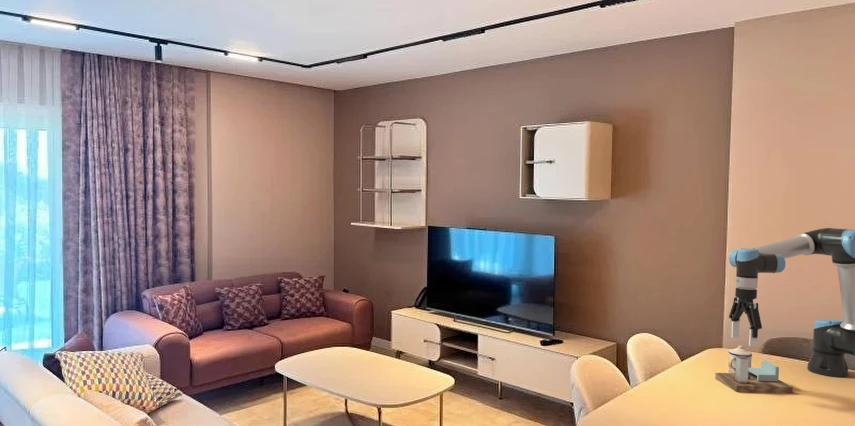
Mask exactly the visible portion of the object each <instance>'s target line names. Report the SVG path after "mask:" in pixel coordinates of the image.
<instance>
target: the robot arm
mask: <svg viewBox="0 0 855 426" xmlns="http://www.w3.org/2000/svg"><path fill="white" fill-rule="evenodd" d="M801 255H803V256H810V255H824V256H830V257H831V262H832V264H834V266H836V268H837V274H838V275H837V277H838V283H839V284H838V285H839V293H840V298H841V306H842V307H841V308H842V315H843V317H842V318H843V320H841V319H839V320H838V319H817V320H815V322H814V327H813V337H812V338H813V341H812V342H813V343H812V354H811V356H810V358H809V359H808V362H807V366H806V369H807V370H808V371H809V372H811V373H814V374H818V375H822V376H823V375H824V376H828V377H836V378H837V377H839V378H846V377H848V376H849V368H848V363H847V361H846V359H845V354H847V355H850V356H854V357H855V229H852V228H835V227H826V228H824V227H823V228H818V229H814V230H811V231H805V232H802V233H799V234H797V235H796V236H795V237H792V238H789V239H784V240H781V241H776V242H772V243H767V244H764V245H761V246H757V247H753V248H739V249H734V250H732V251H730V253H729V256H728V263H729V264H730V265H731V266H732V267H734V268H736V274H735V275H736V278H735V295H734V298H733V302H732V306H731V309H730V311H729V315H728V318H729V319H730V321H731V336H730V337H731V338H733V339H734V338H735V339H739V338H740V324H741V323H740V322H741V316H742V315H743V314H744V313H745V315H746V316H747V319H748V322H749V325H750V327H749V338H748V339H749V340H748V346H749V347H758V337H759V336H758V334H759V333H758V332H759V330H762V329H763V325H762V320H761V316H760V312H759V311H760V310H759V303H758V302H754V300H756V299H757V298H758V290H757V288H758V279H759V277H758V276H759V274H760V273H761V274H762V273H763V274H777V273H782V272H783V271H784V270H785V269H786V259H790V258H793V257H798V256H801Z"/></svg>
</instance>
